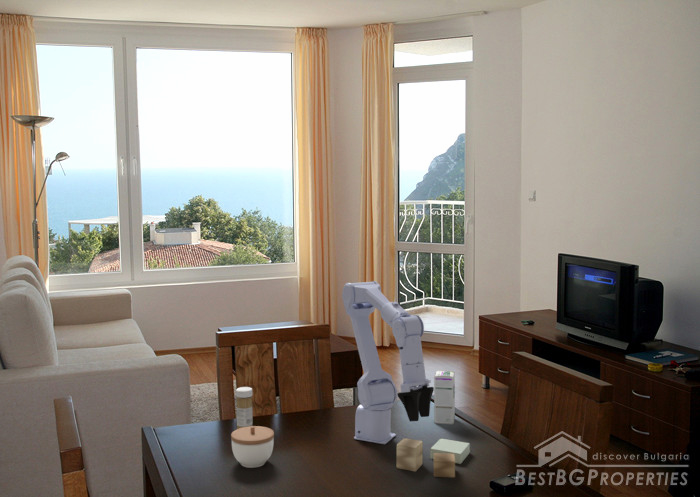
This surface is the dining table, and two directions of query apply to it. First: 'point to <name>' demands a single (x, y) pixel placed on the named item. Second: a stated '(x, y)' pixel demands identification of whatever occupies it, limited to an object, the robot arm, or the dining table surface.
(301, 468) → the dining table surface
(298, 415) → the dining table surface
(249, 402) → the sprinkles bottle
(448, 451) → the plinth block
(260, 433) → the lidded jar
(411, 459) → the maple block
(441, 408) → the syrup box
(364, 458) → the dining table surface
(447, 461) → the oak block
